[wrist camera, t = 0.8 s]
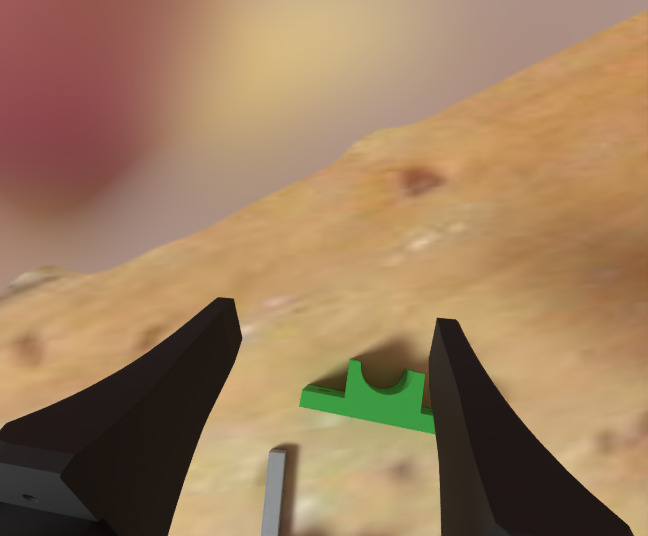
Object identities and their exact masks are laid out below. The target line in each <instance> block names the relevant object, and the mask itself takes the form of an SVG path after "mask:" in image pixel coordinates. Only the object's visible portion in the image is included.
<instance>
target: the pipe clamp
mask: <svg viewBox="0 0 648 536" xmlns="http://www.w3.org/2000/svg"><path fill="white" fill-rule="evenodd" d="M424 380H425V374H423V373H420V372H416V371H412V370H407V369H405V371H404V374H403V377H402V378H401V380H400V381H399V382H398V383H397V384H396V385H394V386H393V387H390V388H386V389H379V388H375V387H373V386H371V385H369V384H368V383H367V382H366V381H365V380H364V378H363V376H362V372H361V362H360V361H359V360H354V359H350V362H349V368H348V374H347V381H346V387H345V392H344V391H339V390H334V389H329V388H324V387H319V386H314V385H309V384H308V385H307V386H306V387H305V388H304V389H303V390H302V394H301V399H300V405H299V407H304V408H309V409H314V410H319V411H324V412H329V413H334V414H339V415H343V416H348V417H353V418H358V419H363V420H368V421H373V422H378V423H383V424H388V425H392V426H397V427H402V428H407V429H412V430H417V431H422V432H427V433H432V434H435V426H434V419H433V412H432V409H430V408H425V407H421V405H422V397H423V389H424Z"/></svg>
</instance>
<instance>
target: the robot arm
mask: <svg viewBox="0 0 648 536" xmlns="http://www.w3.org/2000/svg"><path fill="white" fill-rule="evenodd" d="M241 341H242V334H241V330H240V325H239V320H238V316H237V311H236V307H235V302H234V299H232V298H222V297H218V298H216V299H215V300H214V301H213V302H211V303H210V304H209V305H208V306H206V307H205V308H204V309H203V310H202V311H200V312H199V313H198V314H197V315H196V316H194V317H193V318H192V319H191V320H190V321H188V322H187V323H186V324H185V325H183V326H182V327H181V328H180V329H178V330H177V331H176V332H175V333H173V334H172V335H171V336H169V337H168V338H167V339H165V340H164V341H162V342H161V343H160V344H158V345H157V346H156V347H154V348H153V349H152V350H150V351H149V352H147V353H146V354H144V355H143V356H141V357H140V358H138V359H137V360H135V361H134V362H132V363H131V364H129V365H127V366H126V367H124V368H123V369H121V370H119V371H117V372H116V373H114V374H112V375H110V376H108V377H107V378H105V379H103V380H101V381H99V382H98V383H96V384H94V385H92V386H90V387H88V388H86V389H84V390H82V391H80V392H78V393H76V394H74V395H72V396H70V397H68V398H66V399H63V400H61V401H59V402H57V403H55V404H52V405H50V406H48V407H46V408H43V409H41V410H38V411H36V412H33V413H31V414H28V415H26V416H23V417H21V418H18V419H16V420H13V421H10V422H8V423H6V424H5V425H4V426H3V427H2V428H1V429H0V536H168V533H169V529H170V526H171V522H172V519H173V515H174V512H175V509H176V506H177V502H178V499H179V496H180V493H181V490H182V487H183V483H184V480H185V477H186V474H187V472H188V469H189V466H190V463H191V460H192V457H193V454H194V451H195V449H196V446H197V443H198V441H199V438H200V435H201V433H202V430H203V427H204V425H205V423H206V421H207V418H208V416H209V414H210V412H211V410H212V408H213V406H214V404H215V402H216V400H217V398H218V396H219V394H220V392H221V390H222V388H223V386H224V384H225V382H226V379H227V377H228V375H229V373H230V371H231V369H232V367H233V365H234V362H235V360H236V357H237V354H238V351H239V348H240V345H241ZM429 389H430V396H431V404H432V412H433V419H434V426H435V434H436V441H437V449H438V459H439V475H440V503H441V536H634V535H633V533H632V531H631V529H630V527H629V526H628V525H627V524H626V523H625V522H624V521H623V520H622V519H620V518H619V517H618V516H617V515H616V514H615V513H613V512H612V511H611V510H610V509H609V508H608V507H607V506H605V505H604V504H603V503H602V502H601V501H600V500H598V499H597V498H596V497H595V496H594V495H593V494H592V493H590V492H589V491H588V490H587V489H586V488H585V487H584V486H583V485H582V484H581V483H580V482H579V481H578V480H577V479H575V478H574V477H573V476H572V475H571V474H570V473H569V472H568V471H567V470H566V469H565V468H564V467H563V466H562V465H561V464H560V463H559V461H558V460H557V459H556V458H555V457H554V456H553V455H552V454H551V453H550V452H549V451H548V450H547V449H546V448H545V447H544V446H543V445H542V444H541V443H540V442H539V440H538V439H537V438H536V437H535V436H534V435H533V434H532V432H531V431H530V430H529V429H528V428H527V427H526V425H525V424H524V423H523V422H522V421H521V419H520V418H519V417H518V416H517V414H516V413H515V412H514V411H513V409H512V408H511V407H510V406H509V404H508V403H507V402H506V400H505V399H504V397H503V396H502V395H501V393H500V392H499V390H498V389H497V388H496V386H495V385H494V383H493V382H492V380H491V379H490V377H489V376H488V374H487V373H486V371H485V369H484V368H483V366H482V365H481V363H480V361H479V360H478V358H477V356H476V355H475V353H474V351H473V349H472V348H471V346H470V344H469V342H468V340H467V338H466V337H465V335H464V333H463V331H462V329H461V326H460V324H459V322H458V321H457V320H456V319H445V318H437V320H436V325H435V330H434V336H433V341H432V346H431V351H430V356H429Z"/></svg>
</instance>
